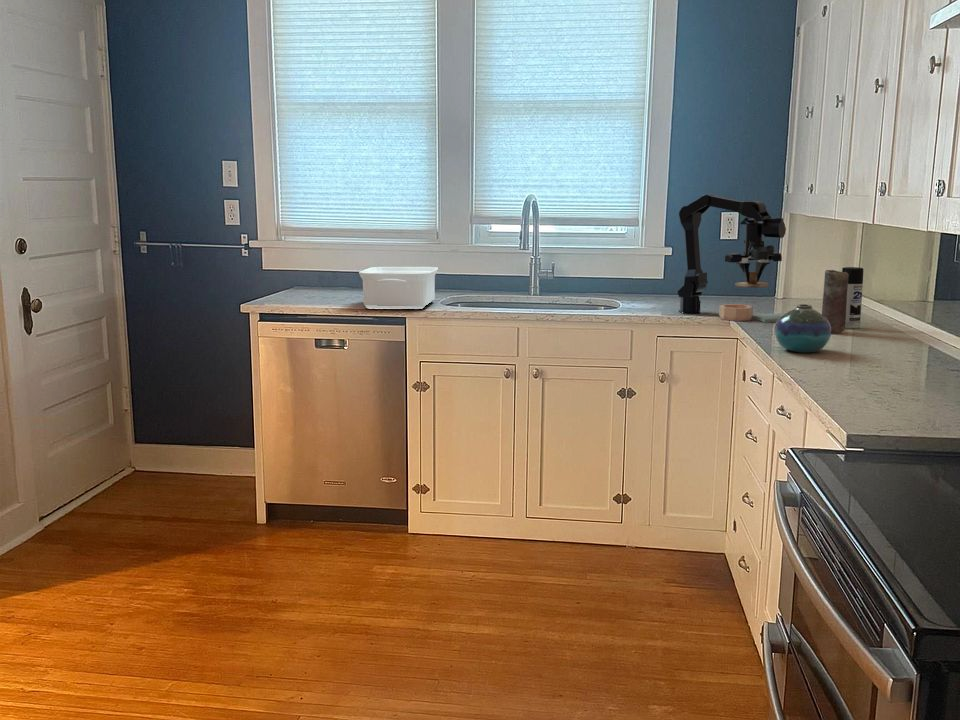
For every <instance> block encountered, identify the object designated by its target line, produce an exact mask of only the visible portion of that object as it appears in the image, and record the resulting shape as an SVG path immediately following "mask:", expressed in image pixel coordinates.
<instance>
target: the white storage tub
mask: <svg viewBox="0 0 960 720" xmlns="http://www.w3.org/2000/svg"><path fill="white" fill-rule="evenodd" d="M438 269H439V267H435V266H372V267H368V268H366V269H363V270H360V271H358V274H359V276H360V278H361V279H362V296H363V298H362V300H363V306H364V305H377V306H426V305H428V304H429V303H430V302H432V301H433V300H434V301H435V299H436V296H435V294H436V293H435V290H436V287H435V285H436V284H435V283H436V281H435V280H436V279H435V278H436V275H437V273H438ZM434 301H433V302H434ZM433 302H432V303H433ZM429 305H430V304H429ZM429 305H428V306H429Z"/></svg>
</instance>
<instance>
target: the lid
mask: <svg viewBox="0 0 960 720" xmlns="http://www.w3.org/2000/svg"><path fill="white" fill-rule="evenodd" d="M734 287H737V288H738V287H739V288H768V287H770V283H769V282H762V281H758V282H757V272H756V271H749V282H746V281H741V282H735V283H734Z"/></svg>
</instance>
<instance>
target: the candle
mask: <svg viewBox="0 0 960 720" xmlns="http://www.w3.org/2000/svg"><path fill="white" fill-rule="evenodd" d="M848 276H849V274H848V273H846V272H842V271H839V270H833V269H825V271H824V280H823V282H824V283H823V293H822V295H823V296H822V307H821V314H822V315H823V316H824V317H826V318H827V319H828V321H829V322H830V325H831V333H835V334H836V333H842V332H844V331H845V320H846V305H847V290H848Z"/></svg>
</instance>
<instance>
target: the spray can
mask: <svg viewBox="0 0 960 720" xmlns="http://www.w3.org/2000/svg"><path fill="white" fill-rule="evenodd" d="M841 272H846V273H848V274H849V276H848V290H847V305H846V320H845V329H846V330H859V329H861V319H862V317H861V316H862V314H861V313H862V303H863V302H862V300H863V289H864V288H863V284H864V268H863V267H859V266H858V267H856V266H846V267H842V268H841Z"/></svg>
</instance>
